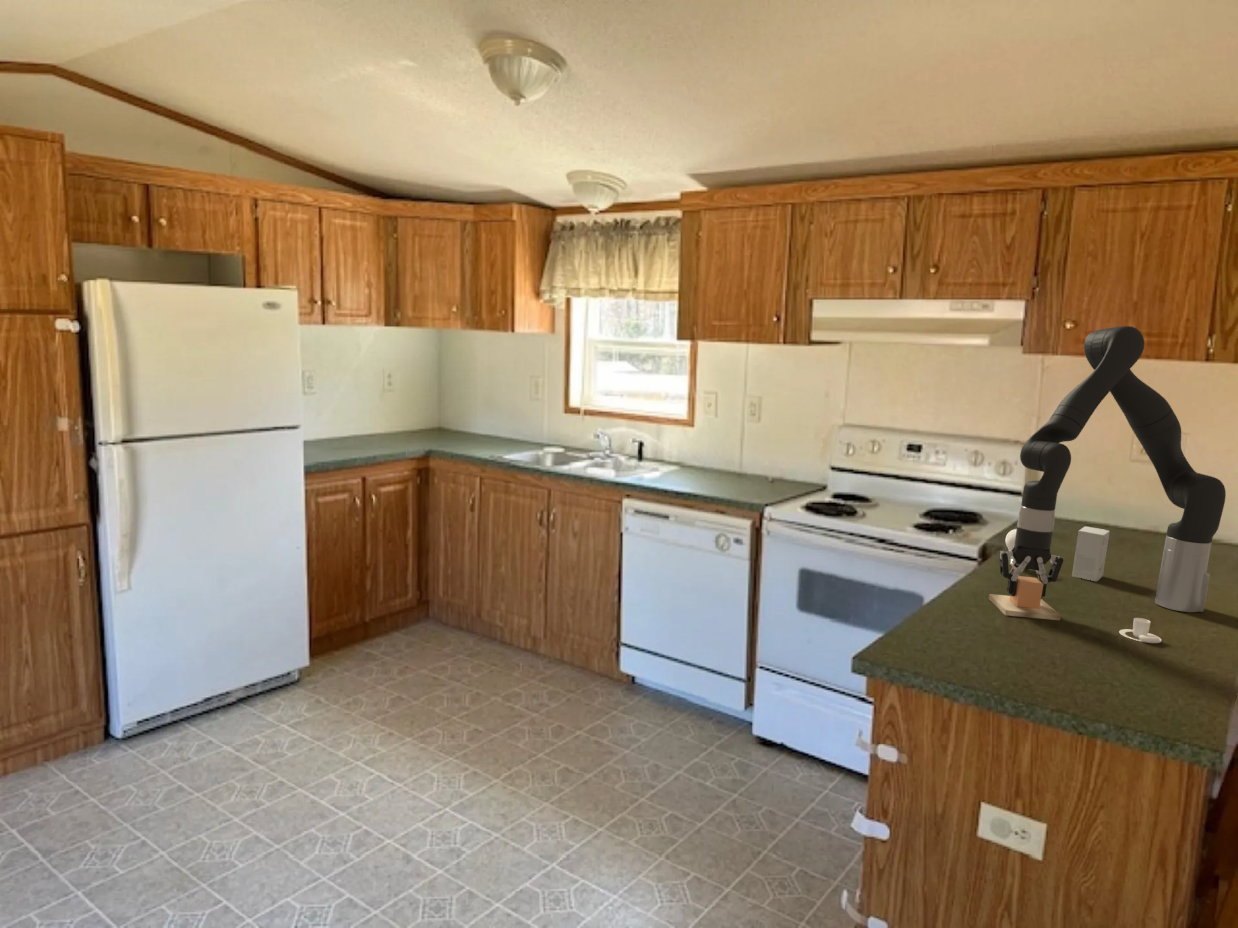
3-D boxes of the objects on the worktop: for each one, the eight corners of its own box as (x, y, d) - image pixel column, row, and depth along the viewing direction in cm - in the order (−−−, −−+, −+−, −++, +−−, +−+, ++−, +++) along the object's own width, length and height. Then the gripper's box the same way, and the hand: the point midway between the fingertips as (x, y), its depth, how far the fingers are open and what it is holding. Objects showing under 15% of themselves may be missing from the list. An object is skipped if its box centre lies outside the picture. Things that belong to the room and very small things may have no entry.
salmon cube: (1031, 601, 199) (1035, 577, 198) (1039, 608, 194) (1043, 583, 193) (1009, 599, 199) (1013, 575, 198) (1016, 606, 194) (1020, 581, 193)
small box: (1077, 571, 234) (1084, 525, 232) (1103, 576, 230) (1110, 530, 228) (1070, 576, 228) (1078, 530, 225) (1097, 582, 224) (1104, 534, 221)
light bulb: (1030, 571, 230) (1036, 533, 228) (1005, 569, 231) (1010, 530, 229) (1024, 565, 236) (1029, 527, 234) (999, 562, 237) (1004, 525, 236)
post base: (1040, 603, 202) (1043, 582, 201) (1060, 620, 190) (1063, 598, 189) (988, 598, 203) (991, 578, 202) (1005, 615, 191) (1008, 593, 190)
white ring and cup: (1161, 649, 177) (1164, 630, 176) (1117, 639, 181) (1120, 621, 180) (1161, 637, 184) (1164, 619, 183) (1119, 628, 188) (1122, 611, 187)
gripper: (1061, 525, 196) (1050, 594, 199) (997, 520, 198) (988, 588, 201) (1074, 533, 189) (1063, 604, 192) (1008, 527, 190) (998, 598, 193)
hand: (1025, 596), depth 196 cm, fingers open, 5 cm apart
